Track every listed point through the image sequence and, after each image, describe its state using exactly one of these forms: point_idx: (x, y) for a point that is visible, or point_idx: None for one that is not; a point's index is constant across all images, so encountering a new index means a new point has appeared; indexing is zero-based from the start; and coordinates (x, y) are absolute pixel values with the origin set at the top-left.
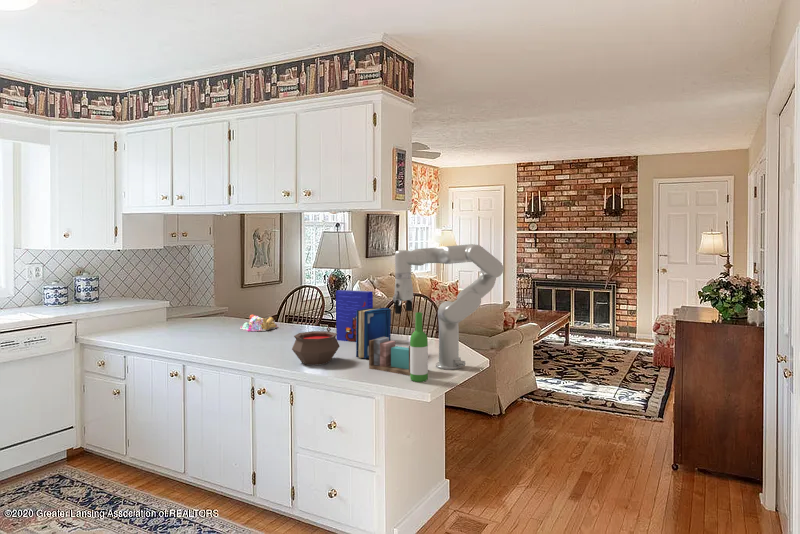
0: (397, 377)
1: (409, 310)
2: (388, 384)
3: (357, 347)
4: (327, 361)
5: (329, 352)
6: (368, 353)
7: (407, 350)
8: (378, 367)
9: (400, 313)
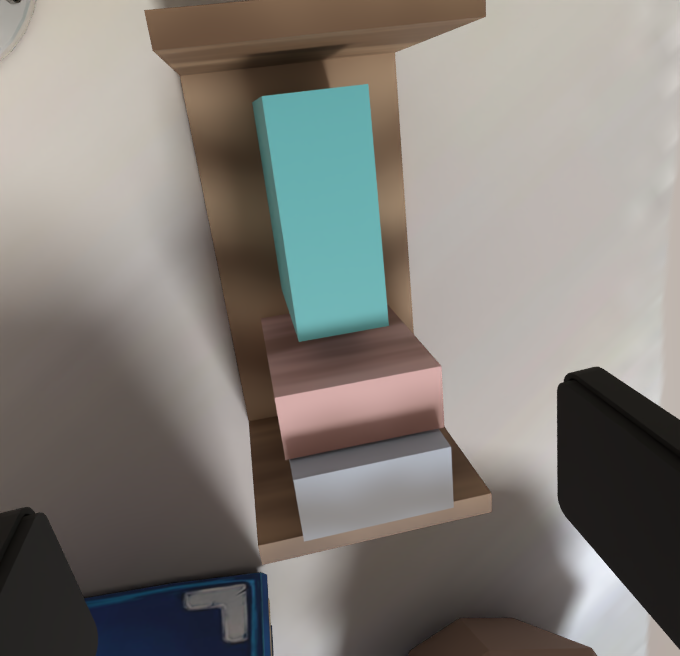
0: (479, 86)
1: (58, 557)
2: (650, 9)
3: None
4: (470, 622)
5: (516, 645)
6: (236, 595)
7: (371, 122)
8: (412, 331)
9: (596, 374)
